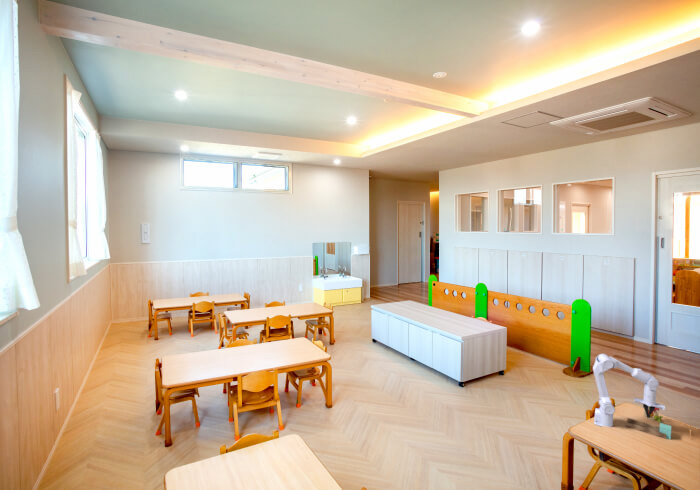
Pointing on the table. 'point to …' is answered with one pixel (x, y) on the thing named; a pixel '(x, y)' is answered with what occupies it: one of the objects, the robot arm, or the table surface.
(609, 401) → the robot arm
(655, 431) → the chute
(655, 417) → the bird rattle
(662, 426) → the block
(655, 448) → the table surface
